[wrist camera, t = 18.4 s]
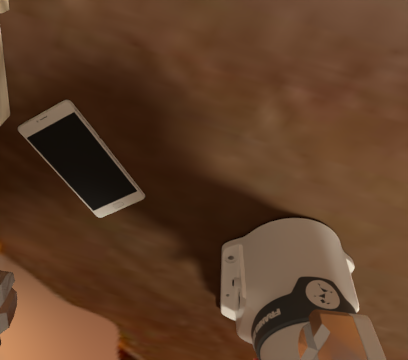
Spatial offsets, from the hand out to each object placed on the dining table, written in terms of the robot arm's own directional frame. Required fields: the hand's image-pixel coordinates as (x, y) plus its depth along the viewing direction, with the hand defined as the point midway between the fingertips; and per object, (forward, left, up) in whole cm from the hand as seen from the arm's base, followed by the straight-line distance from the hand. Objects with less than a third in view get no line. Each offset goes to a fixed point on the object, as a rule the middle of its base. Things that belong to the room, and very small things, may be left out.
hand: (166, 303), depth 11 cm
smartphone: (-18, +10, -32) cm, 38 cm away
